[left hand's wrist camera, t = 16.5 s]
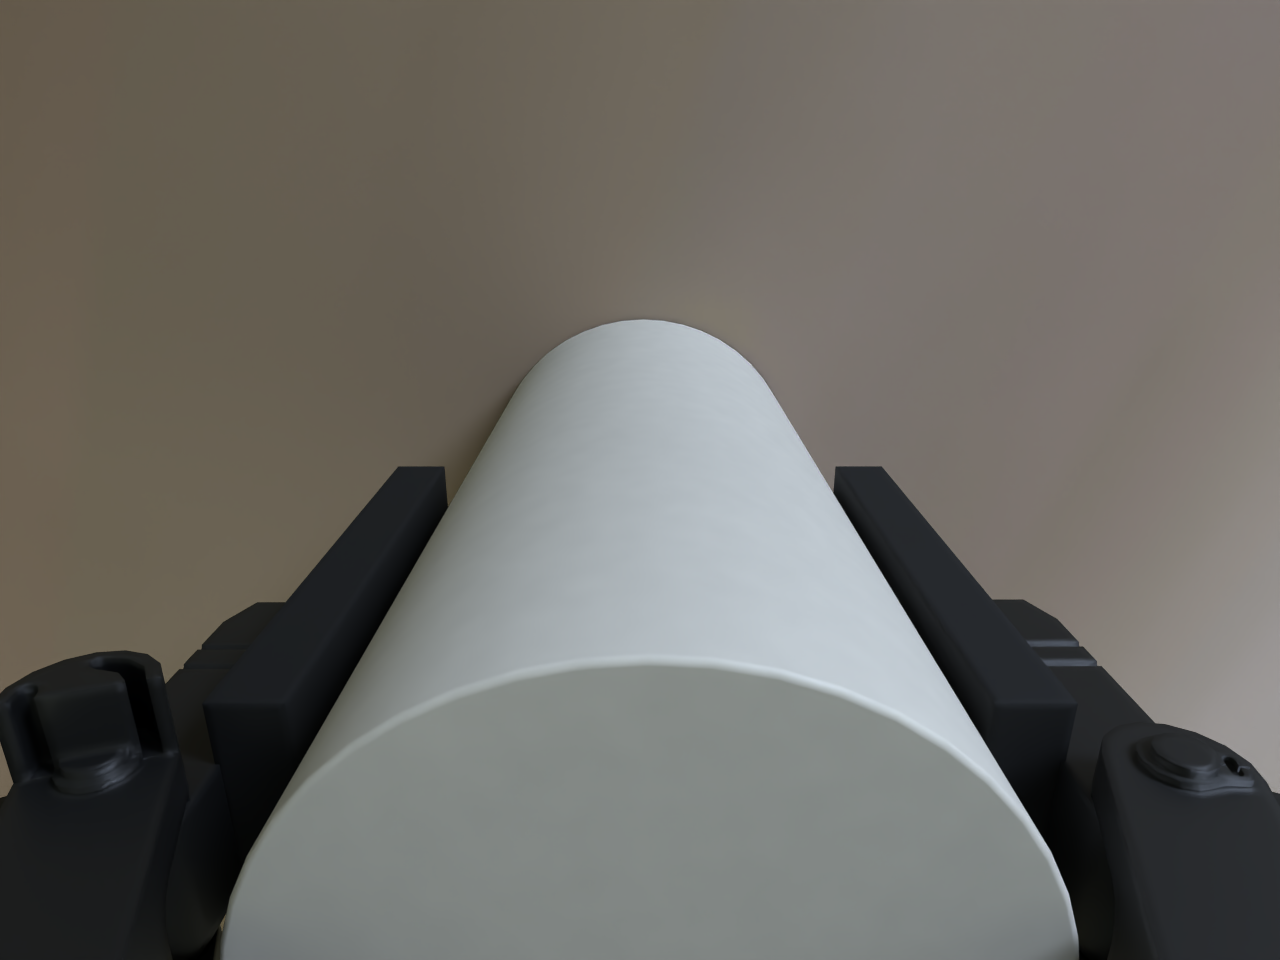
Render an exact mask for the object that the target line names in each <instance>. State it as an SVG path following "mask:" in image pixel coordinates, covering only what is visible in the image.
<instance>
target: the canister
mask: <svg viewBox="0 0 1280 960" xmlns="http://www.w3.org/2000/svg"><path fill="white" fill-rule="evenodd" d="M220 960H1079V942H1078V934H1077V929H1076V924H1075V920H1074V915H1073V911H1072V906H1071V902H1070V897H1069V893H1068V891H1067V888H1066V886H1065V884H1064V881H1063V879H1062V877H1061V874H1060V872H1059V869H1058V867H1057V865H1056V862H1055V860H1054V858H1053V855H1052V853H1051V851H1050V849H1049V848H1048V846H1047V844H1046V843H1045V841H1044V839H1043V838H1042V836H1041V834H1040V833H1039V831H1038V830H1037V828H1036V826H1035V825H1034V823H1033V821H1032V820H1031V818H1030V816H1029V815H1028V813H1027V811H1026V810H1025V808H1024V807H1023V805H1022V803H1021V802H1020V800H1019V798H1018V797H1017V795H1016V793H1015V792H1014V790H1013V788H1012V787H1011V785H1010V783H1009V782H1008V780H1007V779H1006V777H1005V775H1004V774H1003V772H1002V770H1001V769H1000V767H999V765H998V764H997V762H996V760H995V759H994V757H993V755H992V754H991V752H990V751H989V749H988V747H987V746H986V744H985V742H984V741H983V739H982V737H981V736H980V734H979V732H978V731H977V729H976V728H975V726H974V724H973V723H972V721H971V719H970V718H969V716H968V714H967V713H966V711H965V709H964V708H963V706H962V704H961V703H960V701H959V700H958V698H957V696H956V695H955V693H954V691H953V690H952V688H951V686H950V685H949V683H948V681H947V680H946V678H945V676H944V675H943V673H942V672H941V670H940V668H939V667H938V665H937V663H936V662H935V660H934V658H933V657H932V655H931V653H930V652H929V650H928V649H927V647H926V645H925V644H924V642H923V640H922V639H921V637H920V635H919V634H918V632H917V630H916V629H915V627H914V625H913V624H912V622H911V621H910V619H909V617H908V616H907V614H906V612H905V611H904V609H903V607H902V606H901V604H900V602H899V601H898V599H897V597H896V596H895V594H894V593H893V591H892V589H891V588H890V586H889V584H888V583H887V581H886V579H885V578H884V576H883V574H882V573H881V571H880V569H879V568H878V566H877V565H876V563H875V561H874V560H873V558H872V556H871V555H870V553H869V551H868V550H867V548H866V546H865V545H864V543H863V542H862V540H861V538H860V537H859V535H858V533H857V532H856V530H855V528H854V527H853V525H852V523H851V522H850V520H849V518H848V517H847V515H846V514H845V512H844V510H843V509H842V507H841V505H840V504H839V502H838V500H837V499H836V497H835V495H834V494H833V492H832V490H831V489H830V487H829V486H828V484H827V482H826V481H825V479H824V477H823V476H822V474H821V472H820V471H819V469H818V467H817V466H816V464H815V463H814V461H813V459H812V458H811V456H810V454H809V453H808V451H807V449H806V448H805V446H804V444H803V443H802V441H801V439H800V438H799V436H798V435H797V433H796V431H795V430H794V428H793V426H792V425H791V423H790V421H789V420H788V418H787V416H786V415H785V413H784V411H783V410H782V408H781V407H780V405H779V403H778V402H777V400H776V398H775V397H774V395H773V393H772V392H771V390H770V389H769V387H768V386H767V384H766V382H765V381H764V379H763V378H762V377H761V376H760V374H759V373H758V372H757V371H756V370H755V369H754V367H753V366H752V365H751V364H750V363H749V362H748V361H747V360H746V359H745V358H743V357H742V356H741V355H740V354H739V353H738V352H737V351H735V350H734V349H732V348H731V347H729V346H728V345H727V344H725V343H724V342H722V341H721V340H719V339H717V338H715V337H713V336H711V335H709V334H707V333H705V332H703V331H700V330H697V329H694V328H691V327H688V326H685V325H682V324H677V323H672V322H667V321H659V320H629V321H620V322H615V323H610V324H605V325H601V326H598V327H595V328H593V329H590V330H587V331H584V332H582V333H580V334H578V335H576V336H574V337H572V338H570V339H568V340H566V341H564V342H563V343H562V344H560V345H559V346H557V347H556V348H554V349H553V350H551V351H550V352H549V353H548V354H547V355H545V356H544V357H543V358H542V359H541V360H540V361H539V362H538V363H537V364H536V365H535V366H534V367H533V368H532V369H531V370H530V372H529V373H528V374H527V375H526V376H525V378H524V379H523V380H522V382H521V383H520V385H519V386H518V388H517V390H516V391H515V393H514V394H513V396H512V398H511V400H510V401H509V403H508V405H507V406H506V408H505V410H504V412H503V413H502V415H501V417H500V419H499V420H498V422H497V424H496V426H495V427H494V429H493V431H492V432H491V434H490V436H489V438H488V439H487V441H486V443H485V445H484V446H483V448H482V450H481V452H480V453H479V455H478V457H477V458H476V460H475V462H474V464H473V465H472V467H471V469H470V471H469V472H468V474H467V476H466V477H465V479H464V481H463V483H462V484H461V486H460V488H459V490H458V491H457V493H456V495H455V497H454V498H453V500H452V502H451V503H450V505H449V507H448V509H447V510H446V512H445V514H444V516H443V517H442V519H441V521H440V522H439V524H438V526H437V528H436V529H435V531H434V533H433V535H432V536H431V538H430V540H429V542H428V543H427V545H426V547H425V548H424V550H423V552H422V554H421V555H420V557H419V559H418V561H417V562H416V564H415V566H414V568H413V569H412V571H411V573H410V574H409V576H408V578H407V580H406V581H405V583H404V585H403V587H402V588H401V590H400V592H399V593H398V595H397V597H396V599H395V600H394V602H393V604H392V606H391V607H390V609H389V611H388V613H387V614H386V616H385V618H384V619H383V621H382V623H381V625H380V626H379V628H378V630H377V632H376V633H375V635H374V637H373V638H372V640H371V642H370V644H369V645H368V647H367V649H366V651H365V652H364V654H363V656H362V658H361V659H360V661H359V663H358V664H357V666H356V668H355V670H354V671H353V673H352V675H351V677H350V678H349V680H348V682H347V684H346V685H345V687H344V689H343V690H342V692H341V694H340V696H339V697H338V699H337V701H336V703H335V704H334V706H333V708H332V709H331V711H330V713H329V715H328V716H327V718H326V720H325V722H324V723H323V725H322V727H321V729H320V730H319V732H318V734H317V735H316V737H315V739H314V741H313V742H312V744H311V746H310V748H309V749H308V751H307V753H306V754H305V756H304V758H303V760H302V761H301V763H300V765H299V767H298V768H297V770H296V772H295V774H294V775H293V777H292V779H291V780H290V782H289V784H288V786H287V787H286V789H285V791H284V793H283V794H282V796H281V798H280V800H279V801H278V803H277V805H276V806H275V808H274V810H273V812H272V813H271V815H270V817H269V819H268V820H267V822H266V824H265V825H264V827H263V829H262V831H261V832H260V834H259V836H258V838H257V839H256V841H255V843H254V845H253V846H252V848H251V850H250V851H249V853H248V855H247V857H246V859H245V862H244V864H243V867H242V869H241V872H240V874H239V876H238V879H237V881H236V884H235V886H234V888H233V891H232V893H231V896H230V899H229V904H228V908H227V913H226V918H225V922H224V927H223V932H222V936H221V945H220Z"/></svg>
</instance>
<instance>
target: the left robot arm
mask: <svg viewBox="0 0 1280 960" xmlns="http://www.w3.org/2000/svg"><path fill="white" fill-rule="evenodd" d="M833 494H834V495H835V497H836V499H837V500H838V502H839V504H840V505H841V507H842V509H843V510H844V512H845V514H846V515H847V517H848V518H849V520H850V522H851V523H852V525H853V527H854V528H855V530H856V532H857V533H858V535H859V537H860V538H861V540H862V542H863V543H864V545H865V546H866V548H867V550H868V551H869V553H870V555H871V556H872V558H873V560H874V561H875V563H876V565H877V566H878V568H879V569H880V571H881V573H882V574H883V576H884V578H885V579H886V581H887V583H888V584H889V586H890V588H891V589H892V591H893V593H894V594H895V596H896V597H897V599H898V601H899V602H900V604H901V606H902V607H903V609H904V611H905V612H906V614H907V616H908V617H909V619H910V621H911V622H912V624H913V625H914V627H915V629H916V630H917V632H918V634H919V635H920V637H921V639H922V640H923V642H924V644H925V645H926V647H927V649H928V650H929V652H930V653H931V655H932V657H933V658H934V660H935V662H936V663H937V665H938V667H939V668H940V670H941V672H942V673H943V675H944V676H945V678H946V680H947V681H948V683H949V685H950V686H951V688H952V690H953V691H954V693H955V695H956V696H957V698H958V700H959V701H960V703H961V704H962V706H963V708H964V709H965V711H966V713H967V714H968V716H969V718H970V719H971V721H972V723H973V724H974V726H975V728H976V729H977V731H978V732H979V734H980V736H981V737H982V739H983V741H984V742H985V744H986V746H987V747H988V749H989V751H990V752H991V754H992V755H993V757H994V759H995V760H996V762H997V764H998V765H999V767H1000V769H1001V770H1002V772H1003V774H1004V775H1005V777H1006V779H1007V780H1008V782H1009V783H1010V785H1011V787H1012V788H1013V790H1014V792H1015V793H1016V795H1017V797H1018V798H1019V800H1020V802H1021V803H1022V805H1023V807H1024V808H1025V810H1026V811H1027V813H1028V815H1029V816H1030V818H1031V820H1032V821H1033V823H1034V825H1035V826H1036V828H1037V830H1038V831H1039V833H1040V834H1041V836H1042V838H1043V839H1044V841H1045V843H1046V844H1047V846H1048V848H1049V849H1050V851H1051V853H1052V855H1053V858H1054V860H1055V862H1056V865H1057V867H1058V869H1059V872H1060V874H1061V877H1062V879H1063V881H1064V884H1065V886H1066V888H1067V891H1068V893H1069V897H1070V902H1071V906H1072V911H1073V915H1074V920H1075V924H1076V929H1077V934H1078V942H1079V960H1280V794H1278V793H1275V792H1272V791H1271V789H1270V788H1269V786H1268V784H1267V782H1266V781H1265V780H1264V779H1263V777H1262V776H1261V775H1260V774H1259V773H1258V771H1257V770H1256V769H1255V768H1254V767H1253V765H1252V764H1251V763H1250V762H1248V761H1247V760H1245V759H1244V758H1242V757H1241V756H1239V755H1238V754H1237V753H1235V752H1234V751H1232V750H1231V749H1229V748H1228V747H1227V746H1225V745H1222V744H1220V743H1218V742H1216V741H1214V740H1211V739H1209V738H1207V737H1205V736H1203V735H1200V734H1198V733H1196V732H1192V731H1189V730H1185V729H1181V728H1177V727H1174V726H1170V725H1166V724H1156V723H1154V722H1153V720H1152V719H1151V718H1150V717H1149V716H1148V715H1147V714H1146V713H1145V712H1144V711H1143V710H1142V709H1141V708H1140V707H1139V706H1138V704H1137V703H1136V702H1135V701H1134V700H1133V699H1132V698H1131V697H1130V696H1129V695H1128V694H1127V693H1126V692H1125V691H1124V690H1123V689H1122V687H1121V686H1120V685H1119V684H1118V683H1117V682H1116V681H1115V680H1114V679H1113V678H1112V677H1111V676H1110V675H1109V674H1108V673H1107V672H1106V670H1105V669H1104V668H1103V667H1102V666H1097V661H1096V660H1095V659H1094V658H1093V657H1092V656H1091V655H1090V653H1089V652H1088V651H1087V650H1086V649H1085V648H1084V647H1079V642H1078V641H1077V640H1076V639H1075V637H1074V636H1073V635H1072V634H1071V633H1070V632H1069V631H1068V630H1067V629H1066V628H1065V627H1064V626H1063V625H1062V624H1061V623H1060V622H1059V620H1058V619H1056V618H1054V617H1053V616H1051V615H1049V614H1047V613H1046V612H1044V611H1042V610H1040V609H1039V608H1037V607H1035V606H1033V605H1032V604H1030V603H1028V602H1027V601H1025V600H992V599H991V598H990V597H989V595H988V594H987V593H986V592H985V591H984V589H983V588H982V587H981V586H980V585H979V583H978V582H977V581H976V580H975V579H974V577H973V576H972V575H971V574H970V573H969V571H968V570H967V569H966V568H965V566H964V565H963V564H962V563H961V562H960V560H959V559H958V558H957V557H956V556H955V554H954V553H953V552H952V551H951V550H950V548H949V547H948V546H947V545H946V544H945V542H944V541H943V540H942V539H941V538H940V536H939V535H938V534H937V533H936V532H935V530H934V529H933V528H932V527H931V526H930V524H929V523H928V522H927V521H926V519H925V518H924V517H923V516H922V515H921V513H920V512H919V511H918V510H917V509H916V507H915V506H914V505H913V504H912V503H911V501H910V500H909V499H908V498H907V497H906V495H905V494H904V493H903V492H902V491H901V489H900V488H899V487H898V486H897V485H896V483H895V482H894V481H893V480H892V479H891V477H890V476H889V475H888V474H887V472H886V471H885V470H884V469H883V468H882V467H836V469H835V481H834V493H833ZM447 509H448V504H447V492H446V481H445V469H444V467H398V468H397V469H396V470H395V471H394V472H393V474H392V475H391V476H390V477H389V479H388V480H387V481H386V482H385V483H384V485H383V486H382V487H381V488H380V489H379V491H378V492H377V493H376V494H375V495H374V497H373V498H372V499H371V500H370V501H369V503H368V504H367V505H366V506H365V507H364V509H363V510H362V511H361V512H360V513H359V515H358V516H357V517H356V518H355V520H354V521H353V522H352V523H351V524H350V526H349V527H348V528H347V529H346V530H345V532H344V533H343V534H342V535H341V536H340V538H339V539H338V540H337V541H336V542H335V544H334V545H333V546H332V547H331V548H330V550H329V551H328V552H327V553H326V554H325V556H324V557H323V558H322V559H321V560H320V562H319V563H318V564H317V565H316V567H315V568H314V569H313V570H312V571H311V573H310V574H309V575H308V576H307V577H306V579H305V580H304V581H303V582H302V583H301V585H300V586H299V587H298V588H297V589H296V591H295V592H294V593H293V594H292V595H291V597H290V598H289V599H288V600H287V601H286V602H257V603H255V604H254V605H252V606H250V607H248V608H247V609H245V610H243V611H242V612H240V613H238V614H236V615H235V616H233V617H231V618H229V619H228V620H226V621H224V622H223V623H222V624H221V625H220V626H219V627H218V628H217V629H216V630H215V631H214V633H213V634H212V635H211V636H210V637H209V638H208V639H207V640H206V641H205V642H204V643H203V644H202V649H201V650H197V651H196V652H195V653H194V654H193V655H192V656H191V657H190V658H189V659H188V660H187V662H186V663H185V664H184V669H179V670H178V671H177V672H176V673H175V674H174V675H173V677H172V678H171V679H170V680H169V681H168V682H167V683H166V684H165V681H164V677H163V673H162V668H161V664H160V663H159V662H158V661H156V660H155V659H154V658H152V657H151V656H149V655H148V654H143V653H137V652H131V651H111V652H96V653H92V654H88V655H83V656H79V657H75V658H70V659H66V660H63V661H60V662H58V663H55V664H52V665H50V666H47V667H45V668H42V669H39V670H37V671H34V672H32V673H30V674H29V675H27V676H25V677H24V678H22V679H20V680H18V681H17V682H15V683H13V684H12V685H10V686H8V687H7V688H5V689H4V690H3V691H2V692H1V693H0V742H1V745H2V749H3V752H4V755H5V758H6V761H7V764H8V768H9V771H10V774H11V777H12V780H13V783H14V784H13V785H12V787H11V789H10V791H9V793H8V795H7V796H5V797H2V798H0V960H220V945H221V936H222V930H221V926H220V923H221V922H222V920H223V918H224V916H225V914H226V913H227V908H228V904H229V899H230V896H231V893H232V891H233V888H234V886H235V884H236V881H237V879H238V876H239V874H240V872H241V869H242V867H243V864H244V862H245V859H246V857H247V855H248V853H249V851H250V850H251V848H252V846H253V845H254V843H255V841H256V839H257V838H258V836H259V834H260V832H261V831H262V829H263V827H264V825H265V824H266V822H267V820H268V819H269V817H270V815H271V813H272V812H273V810H274V808H275V806H276V805H277V803H278V801H279V800H280V798H281V796H282V794H283V793H284V791H285V789H286V787H287V786H288V784H289V782H290V780H291V779H292V777H293V775H294V774H295V772H296V770H297V768H298V767H299V765H300V763H301V761H302V760H303V758H304V756H305V754H306V753H307V751H308V749H309V748H310V746H311V744H312V742H313V741H314V739H315V737H316V735H317V734H318V732H319V730H320V729H321V727H322V725H323V723H324V722H325V720H326V718H327V716H328V715H329V713H330V711H331V709H332V708H333V706H334V704H335V703H336V701H337V699H338V697H339V696H340V694H341V692H342V690H343V689H344V687H345V685H346V684H347V682H348V680H349V678H350V677H351V675H352V673H353V671H354V670H355V668H356V666H357V664H358V663H359V661H360V659H361V658H362V656H363V654H364V652H365V651H366V649H367V647H368V645H369V644H370V642H371V640H372V638H373V637H374V635H375V633H376V632H377V630H378V628H379V626H380V625H381V623H382V621H383V619H384V618H385V616H386V614H387V613H388V611H389V609H390V607H391V606H392V604H393V602H394V600H395V599H396V597H397V595H398V593H399V592H400V590H401V588H402V587H403V585H404V583H405V581H406V580H407V578H408V576H409V574H410V573H411V571H412V569H413V568H414V566H415V564H416V562H417V561H418V559H419V557H420V555H421V554H422V552H423V550H424V548H425V547H426V545H427V543H428V542H429V540H430V538H431V536H432V535H433V533H434V531H435V529H436V528H437V526H438V524H439V522H440V521H441V519H442V517H443V516H444V514H445V512H446V510H447Z"/></svg>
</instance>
